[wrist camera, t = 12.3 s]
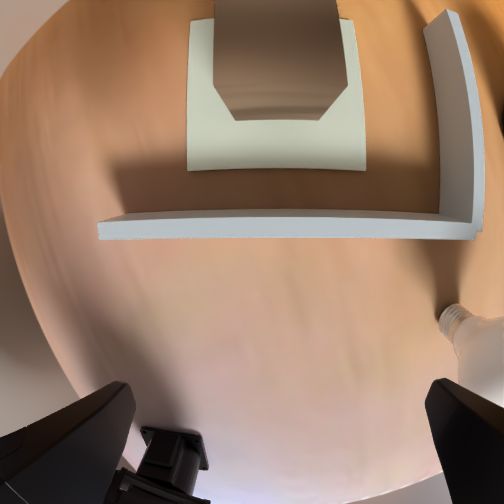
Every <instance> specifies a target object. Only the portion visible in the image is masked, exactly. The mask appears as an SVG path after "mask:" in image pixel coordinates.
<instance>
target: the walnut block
mask: <svg viewBox="0 0 504 504" xmlns="http://www.w3.org/2000/svg"><path fill="white" fill-rule="evenodd" d="M213 86H214V88H215V89H216V91H217V92H218V94H219V96H220V97H221V99H222V100H223V102H224V103H225V105H226V107H227V108H228V110H229V111H230V113H231V115H232V116H233V118H234V119H235V121H247V120H314V121H319V120H320V118H321V117H322V116H323V115H324V114H325V112H326V111H327V110H328V109H329V108H330V106H331V105H332V104H333V103H334V102H335V100H336V99H337V98H338V97H339V96H340V94H341V93H342V92H343V91H344V90H345V89H346V87H347V86H348V80H347V70H346V62H345V54H344V46H343V39H342V32H341V26H340V20H339V14H338V9H337V3H336V0H215V7H214V39H213Z"/></svg>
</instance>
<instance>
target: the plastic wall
mask: <svg viewBox="0 0 504 504" xmlns="http://www.w3.org/2000/svg"><path fill="white" fill-rule="evenodd" d="M423 34H424V38H425V42H426V46H427V51H428V56H429V60H430V66H431V71H432V77H433V83H434V90H435V97H436V105H437V115H438V126H439V142H440V204H439V214H432V213H416V212H396V211H373V210H340V209H220V210H186V211H162V212H142V213H128V214H124V215H121V216H117V217H114V218H110V219H107V220H104V221H100V222H97V225H98V234H99V240H116V239H169V238H401V239H452V240H476V232H482V225H483V212H484V193H485V158H484V139H483V127H482V117H481V109H480V102H479V95H478V89H477V84H476V79H475V74H474V69H473V65H472V60H471V56H470V52H469V49H468V45H467V41H466V38H465V35H464V31H463V28H462V25H461V22H460V19H459V16H458V13H455V12H453V11H451V10H448V9H445V10H444V11H443V12H442V13H441V14H440V15H438V16H437V17H436V18H435V19H434V20H433V21H432V22H431V23H429V24H428V25H427V26H426V27H425V28H424V29H423Z"/></svg>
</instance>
